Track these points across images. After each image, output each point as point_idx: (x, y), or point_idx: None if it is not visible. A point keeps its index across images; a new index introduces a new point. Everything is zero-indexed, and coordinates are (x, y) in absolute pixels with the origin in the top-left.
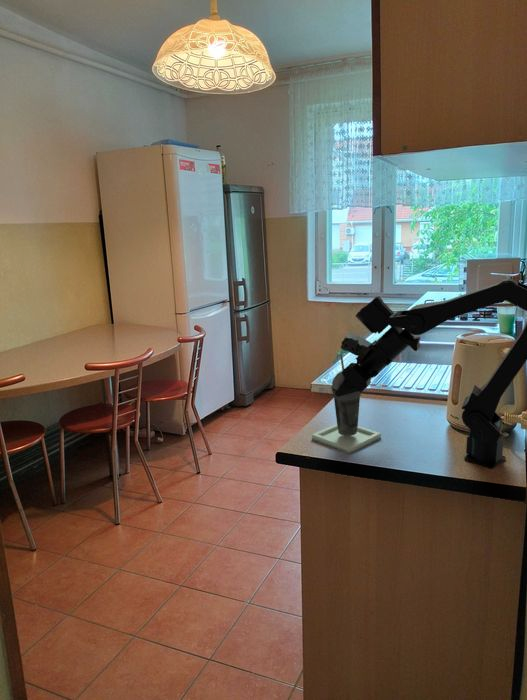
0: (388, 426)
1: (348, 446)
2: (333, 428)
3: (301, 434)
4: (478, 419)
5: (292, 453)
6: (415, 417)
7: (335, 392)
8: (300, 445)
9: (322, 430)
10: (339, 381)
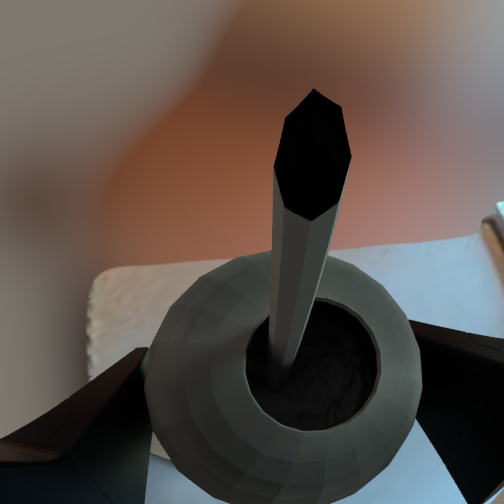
0: (406, 454)
1: (156, 442)
2: None
3: (215, 260)
4: None
5: (91, 295)
6: None
7: (130, 352)
8: (142, 292)
9: None
10: (154, 353)
